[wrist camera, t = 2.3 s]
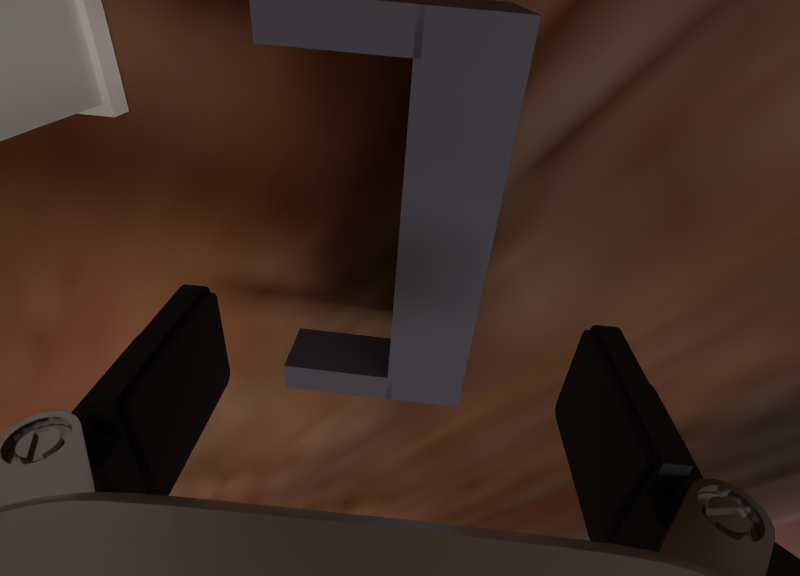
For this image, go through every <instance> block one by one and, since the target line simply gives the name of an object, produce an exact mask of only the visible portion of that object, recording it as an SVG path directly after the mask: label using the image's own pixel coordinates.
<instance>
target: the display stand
mask: <svg viewBox="0 0 800 576" xmlns="http://www.w3.org/2000/svg"><path fill="white" fill-rule="evenodd" d="M126 112H129V109H128V105H127V101H126V97H125V93H124V89H123V85H122V81H121V77H120V73H119V69H118V65H117V61H116V57H115V53H114V49H113V45H112V41H111V37H110V33H109V29H108V25H107V21H106V17H105V13H104V9H103V5H102V1H101V0H0V141H2V140H5V139H8V138H11V137H13V136H16V135H19V134H22V133H24V132H27V131H30V130H33V129H35V128H38V127H41V126H44V125H46V124H49V123H52V122H55V121H57V120H60V119H63V118H65V117H68V116H71V115H74V114H86V115H96V116H106V117H117V116H119V115H121V114H124V113H126Z"/></svg>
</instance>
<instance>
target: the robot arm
mask: <svg viewBox="0 0 800 576" xmlns="http://www.w3.org/2000/svg"><path fill="white" fill-rule="evenodd" d="M229 376H230V368H229V363H228V357H227V351H226V346H225V340H224V334H223V329H222V323H221V317H220V312H219V306H218V300H217V296H216V294H215V293H211V292H210V290H209V288H208V287H206V286H196V285H186V284H185V285H182V286H181V287H180V288H179V289H178V290H177V292H176V293H175V294H174V295H173V296H172V297H171V299H170V300H169V301H168V302H167V303H166V304H165V306H164V307H163V308H162V309H161V310H160V311H159V313H158V314H157V315H156V316H155V317H154V318H153V320H152V321H151V322H150V323H149V324H148V325H147V327H146V328H145V329H144V330H143V331H142V332H141V334H139V335H138V336H137V337H136V338H135V339H134V340H133V341H132V343H131V344H130V345H129V346H128V347H127V348H126V350H125V351H124V352H123V353H122V354H121V355H120V357H119V358H118V359H117V360H116V361H115V362H114V364H113V365H112V366H111V367H110V368H109V369H108V371H107V372H106V373H105V374H104V375H103V376H102V378H101V379H100V380H99V381H98V382H97V383H96V385H95V386H94V387H93V388H92V389H91V390H90V392H89V393H88V394H87V395H86V396H85V397H84V398H83V400H82V401H81V402H80V403H79V404H78V405H77V407H76V408H75V409H74V410H73V411H72V412H71V413H70V412H64V411H49V412H44V413H40V414H36V415H33V416H31V417H29V418H26V419H24V420H22V421H20V422H18V423H17V424H15V425H14V426H12V427H11V428H9V429H8V430H7V431H6V432H4V433H3V434H2V435H1V436H0V576H800V559H799V558H797V557H796V556H794V555H793V554H792V553H790V552H789V551H787V550H786V549H784V548H783V547H781V546H780V545H778V544H777V543H776V542H775V529H774V526H773V524H772V521H771V519H770V517H769V516H768V515H767V513H766V512H765V510H764V509H763V508H762V507H761V506H760V505H759V504H758V503H757V502H756V501H755V500H754V499H753V498H752V497H751V496H750V495H748V494H747V493H745V492H744V491H742V490H741V489H740V488H738V487H736V486H734V485H732V484H730V483H727V482H725V481H721V480H718V479H713V478H703V477H702V475H701V473H700V471H699V469H698V467H697V466H696V464H695V462H694V460H693V458H692V456H691V455H690V453H689V451H688V449H687V447H686V445H685V443H684V442H683V440H682V438H681V436H680V434H679V432H678V431H677V429H676V427H675V425H674V423H673V421H672V420H671V418H670V416H669V414H668V412H667V410H666V409H665V407H664V405H663V403H662V401H661V399H660V398H659V396H658V394H657V392H656V390H655V389H654V387H653V386H652V385H651V384H649V382H648V380H647V378H646V376H645V375H644V373H643V371H642V369H641V367H640V365H639V363H638V362H637V360H636V358H635V356H634V354H633V352H632V350H631V349H630V347H629V345H628V343H627V341H626V339H625V337H624V336H623V334H622V332H621V330H620V329H619V328H617V327H610V326H600V325H594V326H592V327H591V329H590V330H585V331H584V332H583V334H582V336H581V339H580V342H579V344H578V347H577V350H576V352H575V355H574V358H573V360H572V363H571V366H570V368H569V371H568V374H567V376H566V379H565V382H564V384H563V387H562V390H561V392H560V395H559V398H558V400H557V403H556V408H555V414H556V420H557V423H558V427H559V431H560V434H561V438H562V441H563V445H564V449H565V452H566V456H567V459H568V463H569V467H570V470H571V474H572V477H573V481H574V485H575V488H576V492H577V495H578V499H579V503H580V506H581V510H582V513H583V517H584V521H585V524H586V528H587V532H588V535H589V538H590V541H587V540H579V539H571V538H564V537H556V536H548V535H540V534H531V533H522V532H513V531H504V530H495V529H486V528H477V527H468V526H459V525H450V524H441V523H432V522H422V521H413V520H404V519H394V518H385V517H376V516H366V515H357V514H347V513H338V512H328V511H319V510H309V509H299V508H289V507H279V506H269V505H259V504H250V503H240V502H230V501H220V500H210V499H199V498H187V497H175V496H168V495H169V494H170V492H171V490H172V488H173V486H174V484H175V483H176V481H177V479H178V477H179V475H180V473H181V471H182V469H183V467H184V465H185V464H186V462H187V460H188V458H189V456H190V454H191V452H192V450H193V448H194V447H195V445H196V443H197V441H198V439H199V437H200V435H201V433H202V431H203V429H204V428H205V426H206V424H207V422H208V420H209V418H210V416H211V414H212V412H213V410H214V409H215V407H216V405H217V403H218V401H219V399H220V397H221V395H222V393H223V392H224V390H225V388H226V386H227V384H228V381H229Z"/></svg>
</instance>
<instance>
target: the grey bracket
mask: <svg viewBox="0 0 800 576" xmlns="http://www.w3.org/2000/svg"><path fill="white" fill-rule="evenodd" d="M249 3H250V13H251V24H252V34H253V43H254V44H265V45H275V46H286V47H297V48H307V49H318V50H329V51H339V52H350V53H360V54H371V55H382V56H392V57H403V58H413V66H412V79H411V91H410V104H409V116H408V129H407V141H406V154H405V166H404V179H403V191H402V204H401V216H400V229H399V242H398V254H397V267H396V279H395V292H394V304H393V317H392V329H391V339H388V338H379V337H371V336H362V335H353V334H345V333H336V332H327V331H319V330H310V329H301V328H300V330H299V333H298V335H297V337H296V340H295V342H294V344H293V347H292V349H291V351H290V354H289V356H288V359H287V361H286V363H285V366H284V367H285V378H286V387H293V388H301V389H310V390H318V391H326V392H335V393H343V394H351V395H360V396H368V397H376V398H385V399H393V400H401V401H410V402H418V403H426V404H435V405H443V406H451V407H458V405H459V400H460V396H461V391H462V386H463V381H464V377H465V372H466V367H467V363H468V358H469V353H470V348H471V344H472V339H473V334H474V330H475V325H476V320H477V315H478V311H479V306H480V301H481V296H482V292H483V287H484V282H485V278H486V273H487V268H488V263H489V259H490V254H491V249H492V245H493V240H494V235H495V230H496V226H497V221H498V216H499V212H500V207H501V202H502V197H503V193H504V188H505V183H506V178H507V174H508V169H509V164H510V160H511V155H512V150H513V145H514V141H515V136H516V131H517V127H518V122H519V117H520V112H521V108H522V103H523V98H524V94H525V89H526V84H527V79H528V75H529V70H530V65H531V60H532V56H533V51H534V46H535V42H536V37H537V32H538V27H539V23H540V18H541V15H539V14H537V13H535V12H533V11H530V10H528V9H526V8H523V7H521V6H519V5H516V4H514V3H504V2H492V1H481V0H249Z"/></svg>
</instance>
